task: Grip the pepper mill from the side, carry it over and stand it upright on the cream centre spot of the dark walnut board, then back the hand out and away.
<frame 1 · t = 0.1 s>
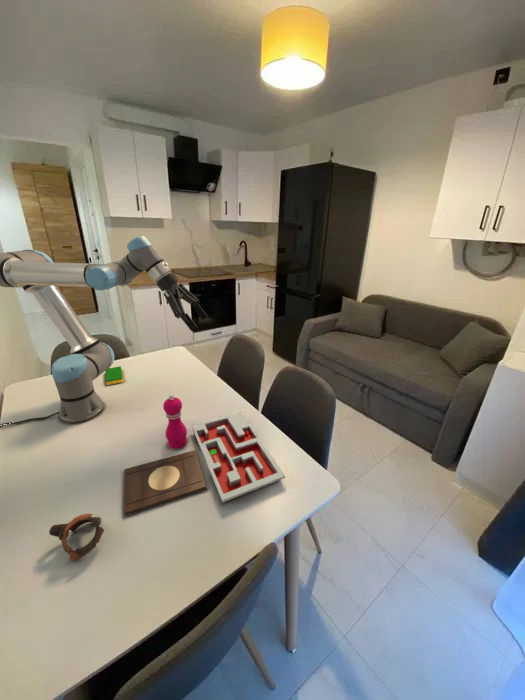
hand: (200, 323, 112), 36 cm above the table, tool tilted 35°, fingers open, 13 cm apart
board: (164, 480, 88), on the table
dish sponge: (114, 377, 144), on the table
pepper mill: (177, 443, 103), on the table
maze game: (233, 455, 98), on the table
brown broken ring: (80, 541, 71), on the table
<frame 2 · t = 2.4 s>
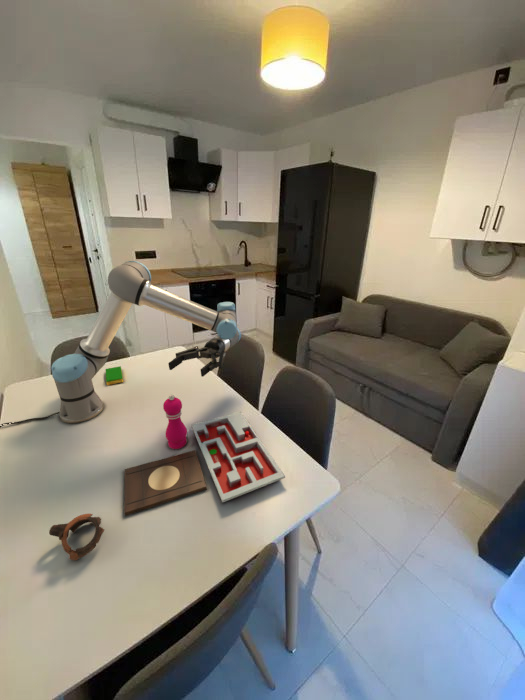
hand: (185, 369, 101), 25 cm above the table, tool horizontal, fingers open, 13 cm apart
nothing on the table moved.
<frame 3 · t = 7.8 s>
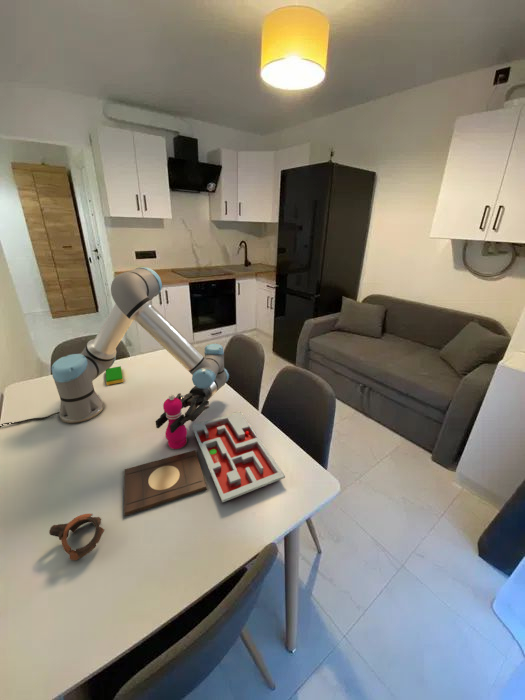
hand: (164, 427, 94), 11 cm above the table, tool horizontal, fingers closed on pepper mill, 5 cm apart
pepper mill: (177, 443, 103), on the table, touching gripper
everything else where it was.
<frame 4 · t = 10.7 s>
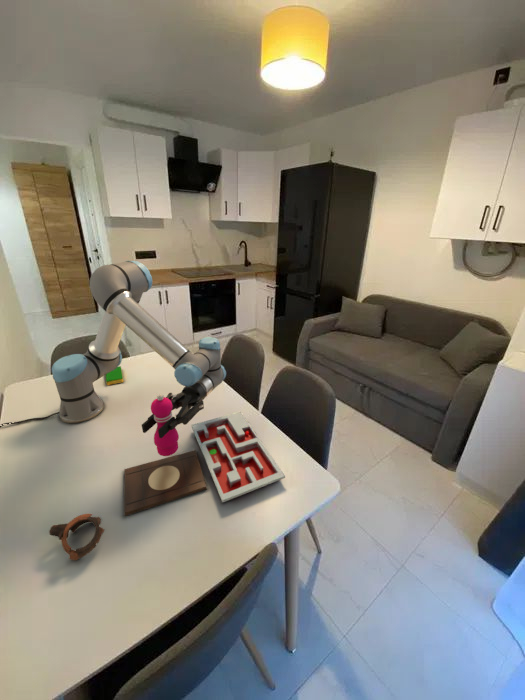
hand: (151, 431, 81), 18 cm above the table, tool horizontal, fingers closed on pepper mill, 5 cm apart
pepper mill: (168, 449, 90), point 7 cm above the table, touching gripper
everything else where it was.
when the fingers open (12 cm above the table, at t = 13.4 s): pepper mill stays where it is, resting on board.
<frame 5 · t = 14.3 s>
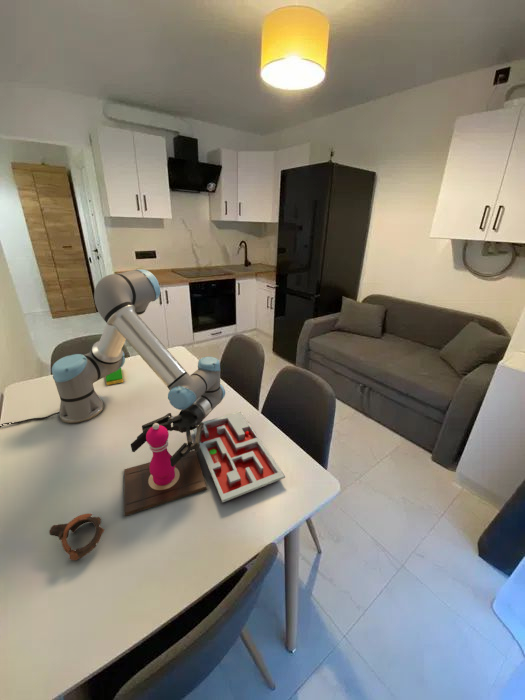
hand: (151, 455, 80), 13 cm above the table, tool horizontal, fingers open, 13 cm apart
pepper mill: (164, 477, 87), point 1 cm above the table, touching board
everything else where it was.
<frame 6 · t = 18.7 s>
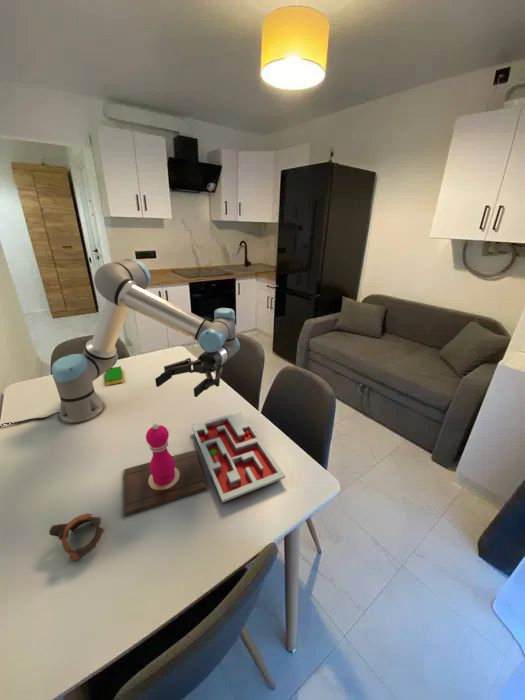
hand: (175, 387, 85), 27 cm above the table, tool horizontal, fingers open, 13 cm apart
nothing on the table moved.
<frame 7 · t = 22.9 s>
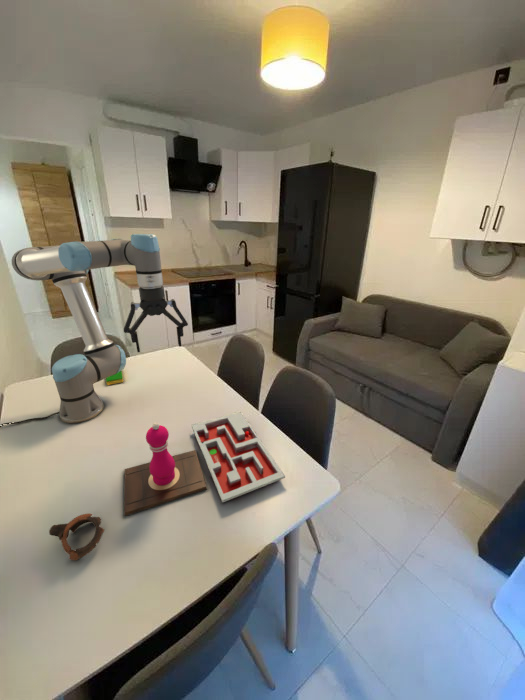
hand: (159, 347, 100), 32 cm above the table, tool pointing down, fingers open, 13 cm apart
nothing on the table moved.
at the end: pepper mill 0.0 cm off-centre on the board, point 1.1 cm above the board's base; pepper mill tilted 0°; the gripper is holding nothing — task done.
